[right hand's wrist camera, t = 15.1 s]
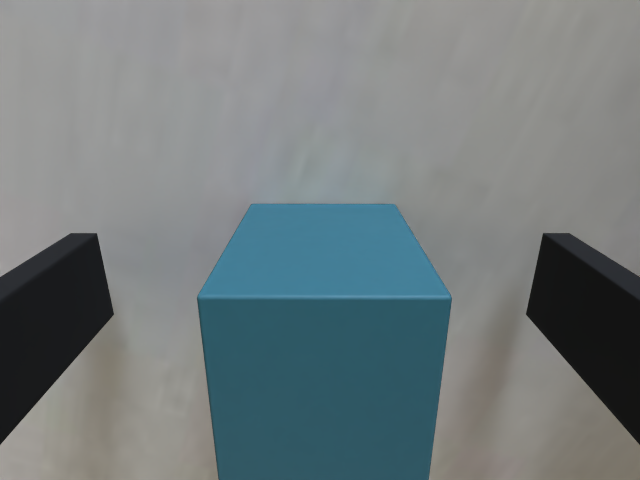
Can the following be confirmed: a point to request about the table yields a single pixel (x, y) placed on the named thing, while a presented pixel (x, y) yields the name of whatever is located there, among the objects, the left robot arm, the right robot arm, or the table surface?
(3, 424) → the right robot arm
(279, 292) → the teal block
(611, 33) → the table surface
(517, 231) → the table surface
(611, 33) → the table surface
